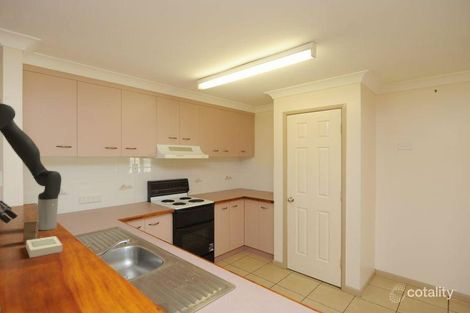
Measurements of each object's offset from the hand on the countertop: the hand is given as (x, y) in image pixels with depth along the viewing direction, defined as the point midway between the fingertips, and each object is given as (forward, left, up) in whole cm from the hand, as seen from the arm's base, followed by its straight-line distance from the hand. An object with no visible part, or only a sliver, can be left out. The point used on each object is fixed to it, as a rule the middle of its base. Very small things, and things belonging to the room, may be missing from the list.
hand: (12, 219), depth 117 cm
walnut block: (-2, +7, -11) cm, 13 cm away
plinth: (+9, +18, -11) cm, 23 cm away
